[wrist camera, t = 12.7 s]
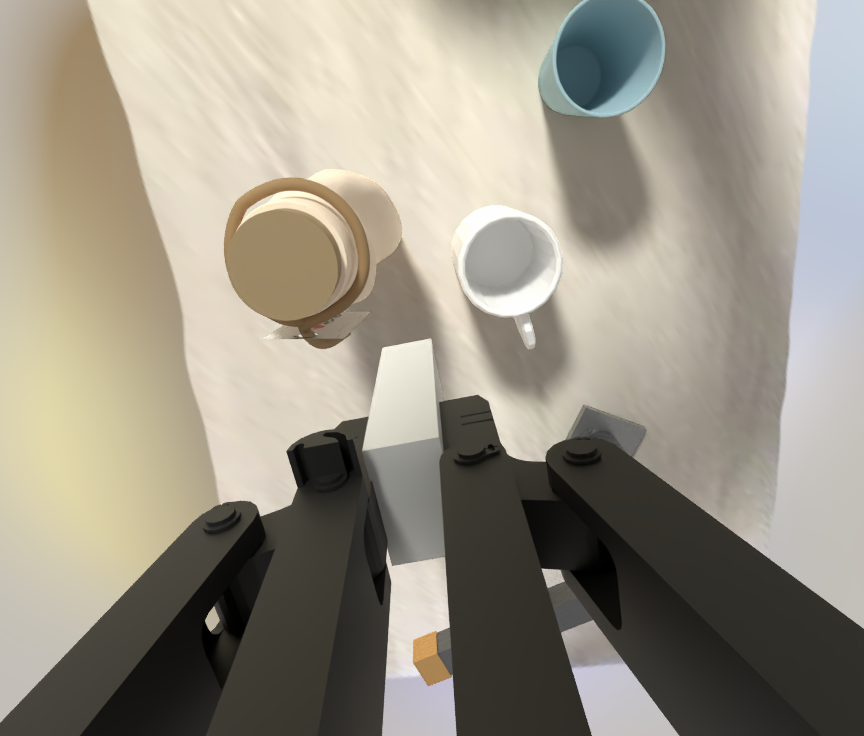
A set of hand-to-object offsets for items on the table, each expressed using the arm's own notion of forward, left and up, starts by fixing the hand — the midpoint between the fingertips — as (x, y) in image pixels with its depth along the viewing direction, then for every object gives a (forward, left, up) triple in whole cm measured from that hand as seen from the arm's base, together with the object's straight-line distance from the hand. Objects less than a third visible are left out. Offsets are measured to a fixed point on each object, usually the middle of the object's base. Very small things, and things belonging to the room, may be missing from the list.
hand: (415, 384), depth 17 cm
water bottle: (+1, -6, -37) cm, 38 cm away
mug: (0, +8, -37) cm, 38 cm away
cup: (-17, +7, -37) cm, 42 cm away
